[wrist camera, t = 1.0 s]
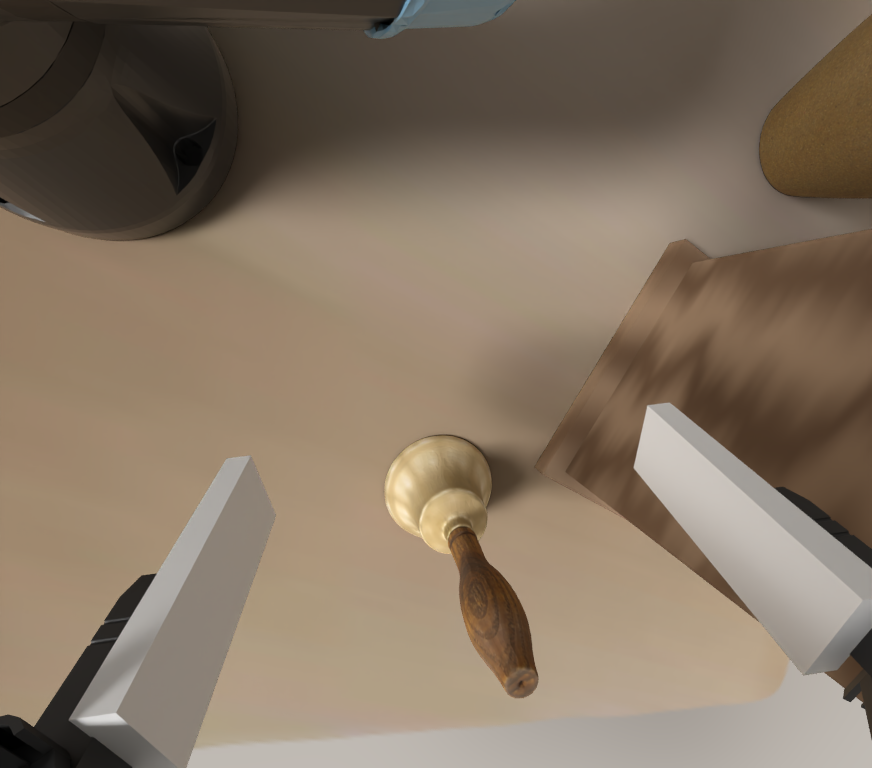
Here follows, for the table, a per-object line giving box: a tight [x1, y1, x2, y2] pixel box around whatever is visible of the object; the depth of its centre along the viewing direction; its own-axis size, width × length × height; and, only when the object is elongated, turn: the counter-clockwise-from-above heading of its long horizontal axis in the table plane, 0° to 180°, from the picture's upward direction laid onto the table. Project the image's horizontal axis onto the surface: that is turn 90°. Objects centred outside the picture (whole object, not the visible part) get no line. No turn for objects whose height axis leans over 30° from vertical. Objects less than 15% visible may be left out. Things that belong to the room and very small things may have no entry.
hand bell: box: [384, 435, 538, 698], centre depth 21 cm, size 8×8×16 cm
